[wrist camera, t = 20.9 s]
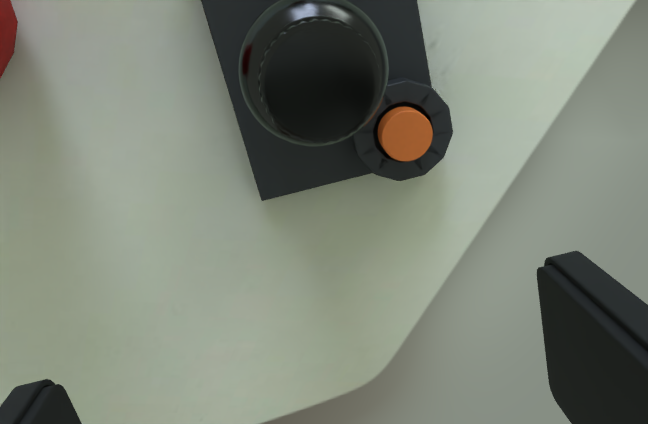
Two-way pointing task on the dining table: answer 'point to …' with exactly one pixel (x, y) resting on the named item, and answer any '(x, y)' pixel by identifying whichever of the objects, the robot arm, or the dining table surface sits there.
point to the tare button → (405, 133)
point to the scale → (363, 147)
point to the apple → (7, 33)
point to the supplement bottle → (313, 70)
